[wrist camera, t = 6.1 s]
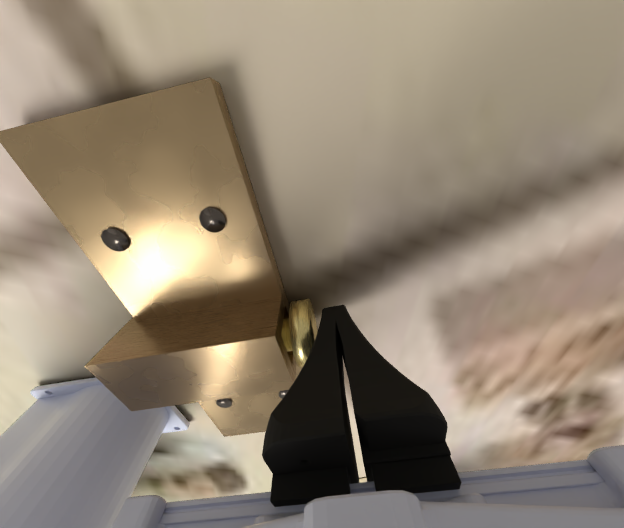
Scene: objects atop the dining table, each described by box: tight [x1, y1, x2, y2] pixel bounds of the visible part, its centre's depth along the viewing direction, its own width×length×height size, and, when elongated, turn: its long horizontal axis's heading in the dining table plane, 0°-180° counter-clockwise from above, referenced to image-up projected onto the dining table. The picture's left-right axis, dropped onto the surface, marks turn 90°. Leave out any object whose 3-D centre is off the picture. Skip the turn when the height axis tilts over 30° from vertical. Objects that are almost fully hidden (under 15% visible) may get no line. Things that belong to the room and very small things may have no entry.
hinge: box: [0, 77, 303, 437], centre depth 13 cm, size 10×24×4 cm, turn 11°
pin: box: [281, 299, 317, 367], centre depth 13 cm, size 10×4×4 cm, turn 101°
